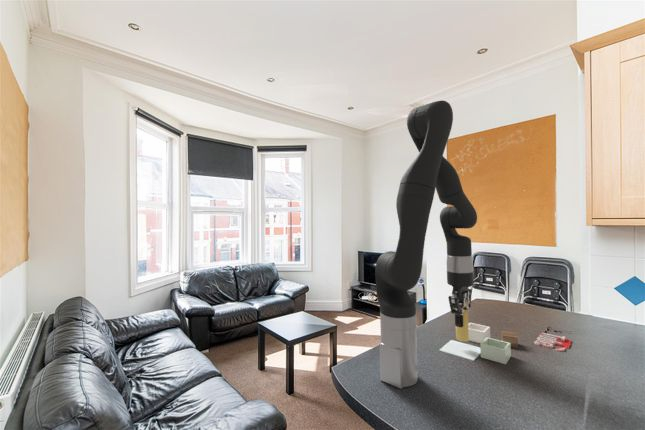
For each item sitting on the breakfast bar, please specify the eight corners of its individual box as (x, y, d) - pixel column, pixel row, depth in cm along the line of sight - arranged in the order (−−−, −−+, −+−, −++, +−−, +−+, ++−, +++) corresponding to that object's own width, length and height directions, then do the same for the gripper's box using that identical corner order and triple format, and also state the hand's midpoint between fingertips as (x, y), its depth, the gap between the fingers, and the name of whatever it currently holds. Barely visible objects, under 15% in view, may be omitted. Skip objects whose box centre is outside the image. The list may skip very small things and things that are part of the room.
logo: (543, 321, 112) (577, 328, 104) (543, 326, 112) (577, 333, 104) (525, 341, 95) (564, 351, 87) (525, 347, 95) (565, 357, 87)
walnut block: (517, 350, 92) (517, 337, 92) (503, 348, 93) (502, 335, 93) (515, 345, 95) (515, 332, 95) (501, 343, 97) (500, 331, 97)
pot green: (505, 366, 82) (505, 350, 82) (480, 359, 86) (480, 343, 86) (511, 358, 86) (510, 342, 86) (487, 351, 91) (486, 337, 91)
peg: (466, 342, 89) (465, 313, 89) (454, 339, 91) (453, 310, 91) (470, 338, 91) (469, 310, 91) (458, 335, 94) (457, 307, 94)
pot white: (484, 346, 95) (484, 332, 95) (464, 340, 99) (463, 327, 99) (490, 340, 99) (490, 326, 99) (470, 335, 104) (469, 322, 104)
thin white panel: (473, 363, 84) (473, 360, 84) (439, 352, 91) (439, 349, 91) (484, 351, 91) (483, 348, 91) (451, 342, 98) (451, 339, 98)
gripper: (464, 274, 84) (466, 334, 84) (479, 267, 94) (481, 321, 94) (438, 271, 89) (440, 328, 89) (455, 265, 99) (457, 316, 99)
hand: (461, 324), depth 91 cm, fingers closed on peg, 3 cm apart
